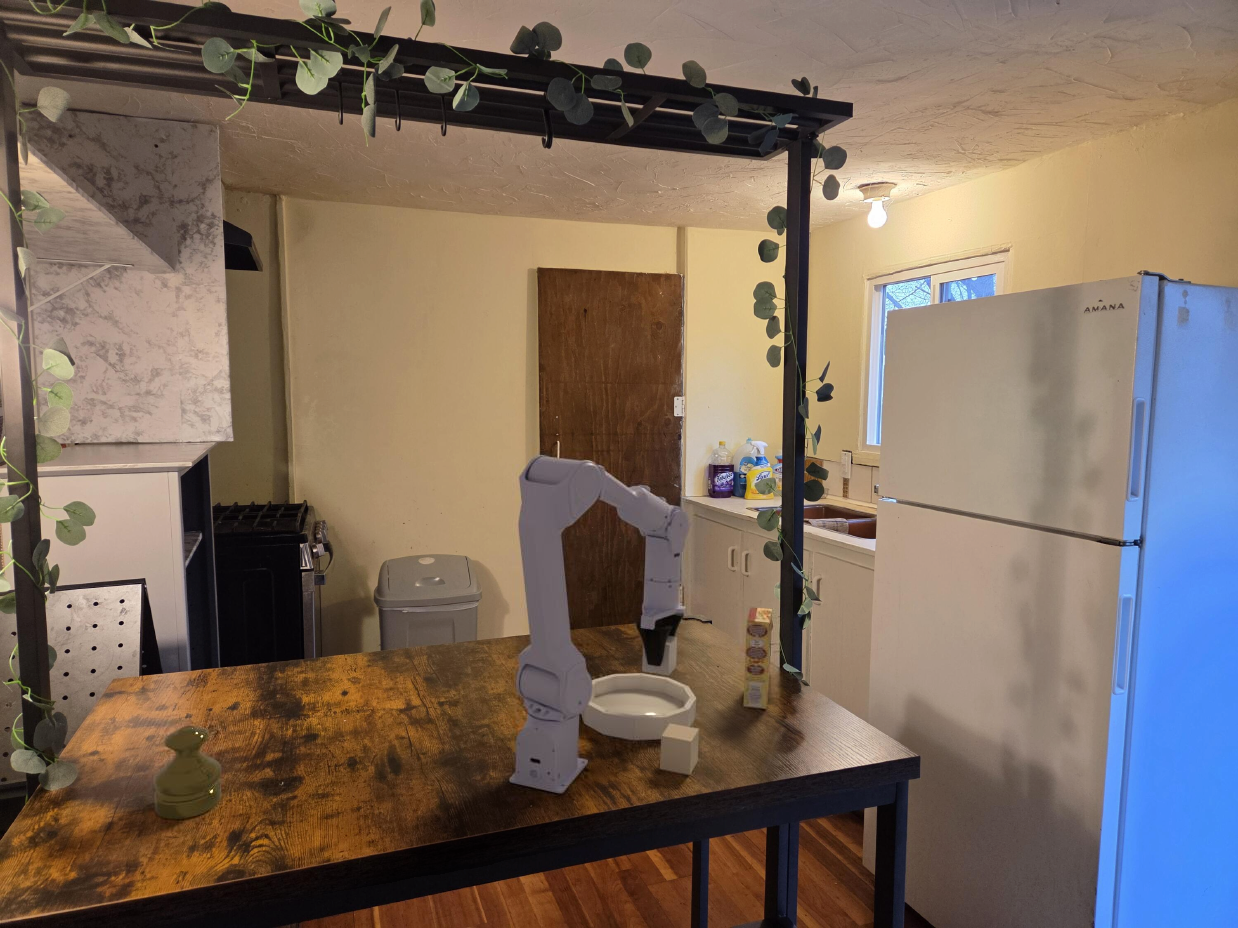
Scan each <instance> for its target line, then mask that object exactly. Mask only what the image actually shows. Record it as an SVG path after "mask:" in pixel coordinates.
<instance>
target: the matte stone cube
mask: <svg viewBox="0 0 1238 928" xmlns="http://www.w3.org/2000/svg"><path fill="white" fill-rule="evenodd" d="M677 646H678V637H677V636H675V637H673V636H668V638H667V640H666V644H665V649H664V655H663V660H662V663H661V666H653V665H648V663H647V659H646V654H645V649H644V644H643V643H642V670H641V672H644V673H651V674H655V675H656V674H657V675H661V676H662V675H663V676H669V675H670V674H671V673H672V672H673V671H674V670H675V668H676V667H677V654H678V653H677V652H678V649H677V648H678V647H677Z"/></svg>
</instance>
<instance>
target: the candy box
mask: <svg viewBox="0 0 1238 928" xmlns="http://www.w3.org/2000/svg"><path fill="white" fill-rule="evenodd" d="M772 623H773V609H772V608H762V607H750V608H749V611H748V617H747V620H746V628H745V629H746V630H745V631H746V632H745V656H744V657H745V659H744V661H745V662H744V687H743V707H745V708H754V709H763V710H766V709H767V705H768V698H769V689H770V688H769V687H770V674H771V673H770V672H771V650H772V628H773V627H772Z"/></svg>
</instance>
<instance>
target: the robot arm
mask: <svg viewBox="0 0 1238 928" xmlns="http://www.w3.org/2000/svg"><path fill="white" fill-rule="evenodd" d="M605 469H606V468H605V467H604V466H602V465H599V464H597V463H596V462H594V461H592V460H589V459H588V460H587V459H584V460H577V459H570V458H560V457H551V456H548V455H545V454H544V455H543V454H540V455H536V456H534V457H533V458H532V459H531V460H530V461H529V462H528V463H527V464H526V465H525V468H524V469H523V470H522V472H521V474H520V475H519V476H518V481H519V490H520V498H521V505H520V511H519V517H518V522H517V523H518V524H517V526H518V536H519V545H520V554H521V564H522V572H523V573H522V574H523V582H524V592H525V600H526V610H527V621H528V629H529V639H530V644H529V645H527V646H526V647H525V648H524V649H523V650H522V651H520V653H519V654H518V670H517V674H516V678H515V679H516V680H515V685H516V686H515V687H516V691H517V693H518V695H519V696H520V697H521V698H522V699H523V707H525V708H526V709H527V715H526V721H525V723H524V725H523V728H522V729H521V730H520V732H519V733H518V735H517V736H516V740H515V771H514V773H513V774H512V775H511V776H510V777H509V778H508V782H510V783H511V784H516V785H521V786H525V787H529V788H533V789H537V790H543V791H547V792H550V793H551V792H552V793H555V794H563V793H565V791H566V790H567V789H568V787H570V785H571V784H572V783H573V781H575V779H576V778H577V777H578V776H579V775H580V773H582V771H583V770H584V769H585V768H586V766H587V765H588V764H589V761H588V759H585V758H580V757H579V736H580V735H579V732H580V730H579V729H580V728H579V727H580V715H581V713H582V712H583V710H584V709H585V708H586V707H587V705H588V703H589V701H590V699H591V696H592V689H593V685H592V680H593V679H592V677H591V675H590V673H589V672H588V669H587V664H586V658H585V657H584V655H583V654H582V653H581V652H580V651H579V650H578V648H577V647H576V645H575V644H574V643H573V642H572V636H571V626H570V615H569V605H568V603H569V602H568V595H567V584H566V575H565V572H566V571H565V563H564V551H563V542H562V541H563V540H562V534H563V531H564V530H565V529H566V528H568V527H570V526H572V525H573V524H575V522H576V521H578V520H579V519H580V517H581V516H583V514H585V512H587V511H588V510H589V509H590V508H591V507H592V506H593V505H594V504H595V502H596V501H597V500H600V501H603V502H605V503H607V504H609V505H611V506H613V507H615V508H616V511H617V515H618V517H619V518H620V519H621V520H622V521H624V522H626V523H628V524H629V525H631V526H633V527H635V528H637V529H638V530H639V533H640V535H641V536H642V537H645V553H644V554H645V556H644V557H645V558H644V560H645V561H644V582H643V583H644V584H643V602H642V604H641V610H642V615H641V616H640V617H641V618H640V619H638V620H637V621H636V623H635V627H636V629H637V631H638V633H639V636H640V638H641V640H642V645H643V644H644V649H645V654H646V659H647V663H648V665H653V666H661V663H662V660H663V655H664V649H665V644H666V640H667V638H668V636H673V637H676V633H677V632H678V628H679V625H680V623H681V622H682V620H683V619H684V616H685V615H684V614H685V612H686V611H687V606H684V605H682V604H681V605H680V588H681V585H680V584H681V582H680V581H681V561H682V552H684V549H685V548H686V540H687V537H688V534H689V531H690V528H691V521H690V520H689V519H690V518H689V515H688V513H687V512H686V511H685V509H684V508H683V507H681V506H679V505H678V506H677V505H670V504H669V503H668V502H667V499H666V498H664V497H662V496H656V495H655V494H653V493H651V488H650V487H649V486H648V485H643V484H638V485H632V486H629V487H628V486H627V485H625V484H624V483H623V482H621V481H620V480H618V479H617V478H616V477H615V476H613V475H612V474H611V473H609V472H607V471H606V470H605Z"/></svg>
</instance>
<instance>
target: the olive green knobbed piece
mask: <svg viewBox="0 0 1238 928" xmlns="http://www.w3.org/2000/svg"><path fill="white" fill-rule="evenodd" d="M210 737H211V733H210V731H209V730H208V729H206V728H204V727H200V726H194V725H184V726H182V727H180V728H178V729H176V730H175V731H172V732H171V733H169V734H168V735H167V736H166V737H165V738H164V743H163V744H164V746H165V747H166V748H168V749H170V750H172V751H173V753H174V754H175V756H174V757H173V758H172V759H171V760H170V761H168V762H167V764H166V765H164V766H163V767H162V768H160V769H159V770H158V771H156V773H155V775H154V778H153V786H154V788H155V792H154V794H153V798H154V810H155V811H154V812H155V813H156V815H157V816H159V817H161V818H162V819H163V818H164V819H166V820H167V819H168V820H184V819H190V818H194V817H197V816H200V815H202V814H205V813H207V812H208V811H210V810H212V809H213V808H214V807H216V806H217V805H218V804H219V802H220V801H221V799H222V784H223V783H222V780H221V779H220V776H221V774H222V765H221V764H220V762H219V761H217V760H216V758H212V757H209V756H208V755H206V754H204V753H202V751H200V749H201V748H202V746H203V745H204V744H205V743H207V742H208V741H209V739H210Z"/></svg>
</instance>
